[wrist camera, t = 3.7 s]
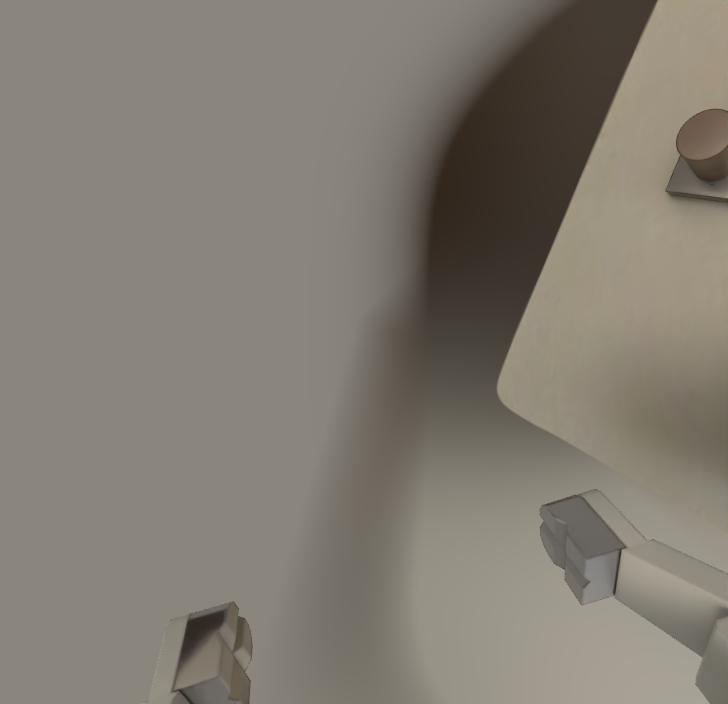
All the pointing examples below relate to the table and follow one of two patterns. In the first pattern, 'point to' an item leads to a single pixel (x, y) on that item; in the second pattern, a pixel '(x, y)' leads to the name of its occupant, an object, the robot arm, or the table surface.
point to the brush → (702, 157)
